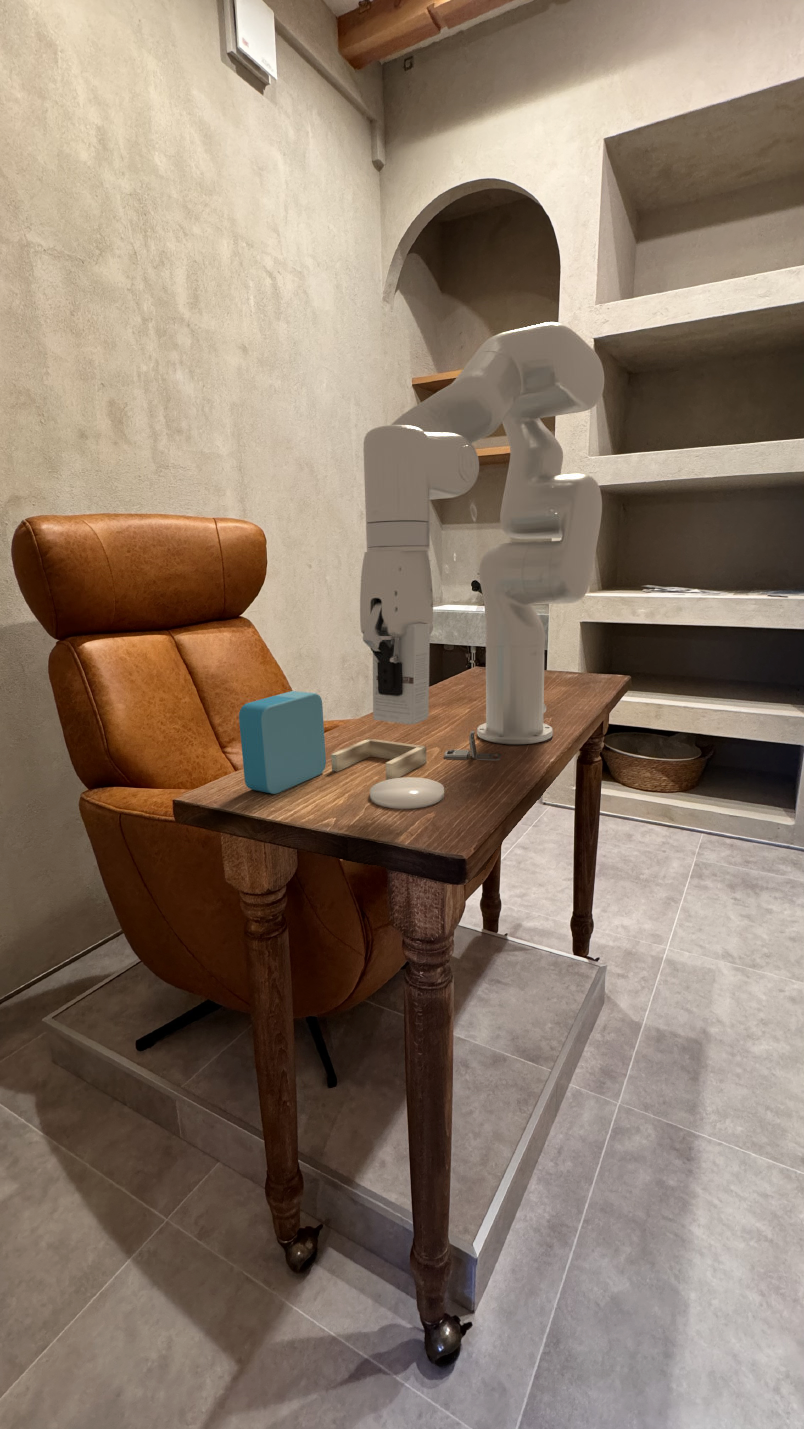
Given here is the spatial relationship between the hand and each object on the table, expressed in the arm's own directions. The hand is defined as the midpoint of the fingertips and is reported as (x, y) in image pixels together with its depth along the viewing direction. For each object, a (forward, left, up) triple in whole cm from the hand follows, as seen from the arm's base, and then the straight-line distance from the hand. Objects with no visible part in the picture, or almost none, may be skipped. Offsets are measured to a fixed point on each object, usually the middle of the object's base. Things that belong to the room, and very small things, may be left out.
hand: (401, 689), depth 83 cm
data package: (+2, -18, -14) cm, 23 cm away
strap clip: (-19, 0, -15) cm, 24 cm away
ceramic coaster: (0, 0, -14) cm, 14 cm away
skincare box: (0, 0, -4) cm, 4 cm away
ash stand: (-8, -10, -14) cm, 19 cm away
